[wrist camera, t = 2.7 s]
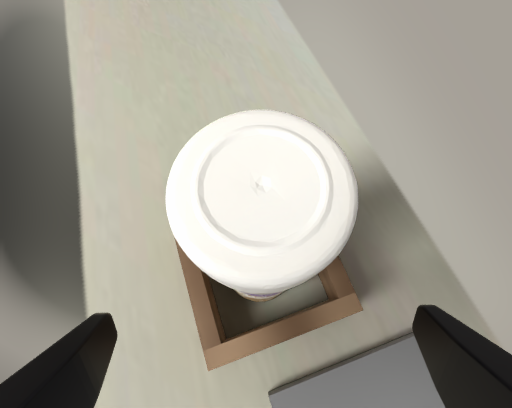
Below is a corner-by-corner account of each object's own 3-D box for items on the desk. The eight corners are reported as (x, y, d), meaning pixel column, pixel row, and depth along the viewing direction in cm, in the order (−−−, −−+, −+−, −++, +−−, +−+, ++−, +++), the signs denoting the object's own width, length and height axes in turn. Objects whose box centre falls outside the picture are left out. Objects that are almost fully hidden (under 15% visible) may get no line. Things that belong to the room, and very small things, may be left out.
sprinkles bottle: (236, 310, 18) (179, 319, 5) (219, 243, 19) (145, 125, 7) (303, 290, 18) (401, 252, 6) (281, 226, 20) (321, 83, 7)
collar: (215, 362, 17) (208, 371, 14) (180, 227, 20) (169, 216, 17) (349, 309, 18) (363, 310, 15) (296, 188, 21) (301, 173, 18)
